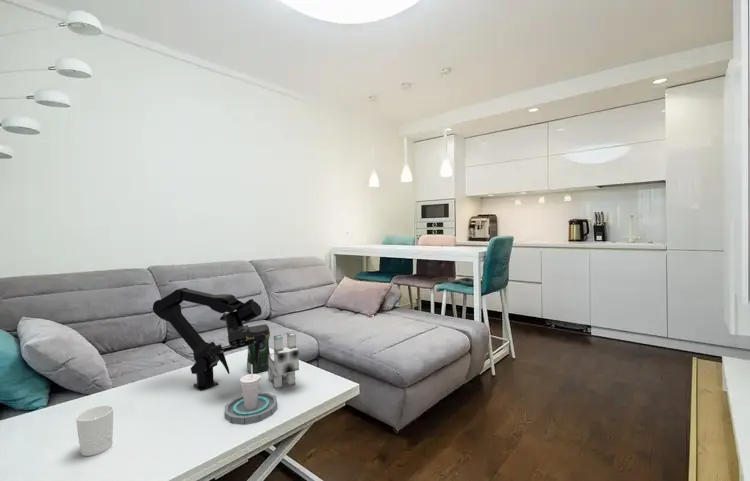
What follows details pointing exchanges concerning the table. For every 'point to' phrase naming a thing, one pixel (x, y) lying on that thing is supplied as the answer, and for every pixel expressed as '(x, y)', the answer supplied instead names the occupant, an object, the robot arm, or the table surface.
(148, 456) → the table surface
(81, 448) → the white cup
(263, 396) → the tray
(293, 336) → the toy llama
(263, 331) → the coffee jar
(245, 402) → the smoothie
